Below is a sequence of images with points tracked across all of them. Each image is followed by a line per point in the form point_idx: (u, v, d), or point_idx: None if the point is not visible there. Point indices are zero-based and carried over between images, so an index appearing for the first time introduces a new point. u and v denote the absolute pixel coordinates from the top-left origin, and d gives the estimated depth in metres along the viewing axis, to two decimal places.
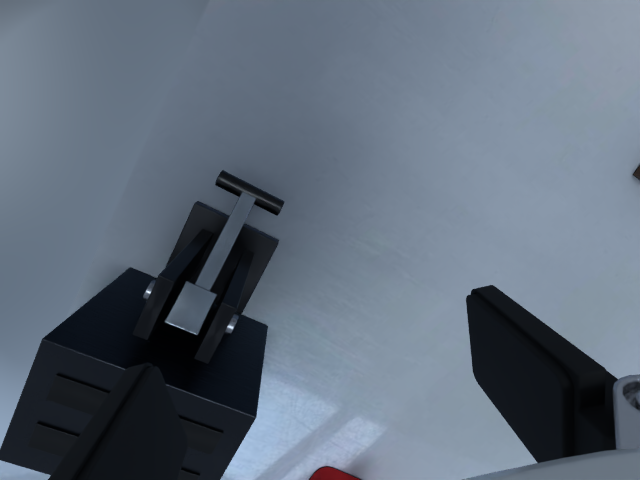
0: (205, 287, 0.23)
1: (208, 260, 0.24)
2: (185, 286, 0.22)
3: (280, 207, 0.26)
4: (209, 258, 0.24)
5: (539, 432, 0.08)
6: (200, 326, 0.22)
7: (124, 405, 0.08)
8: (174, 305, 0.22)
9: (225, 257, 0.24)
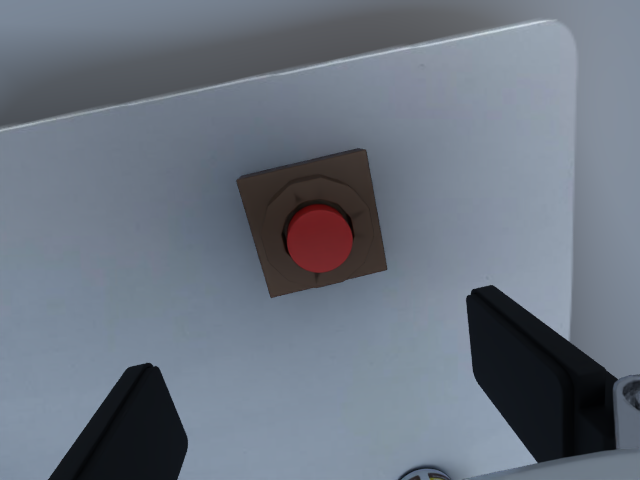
0: None
1: None
2: None
3: None
4: None
5: (539, 432, 0.08)
6: None
7: (124, 405, 0.08)
8: None
9: None
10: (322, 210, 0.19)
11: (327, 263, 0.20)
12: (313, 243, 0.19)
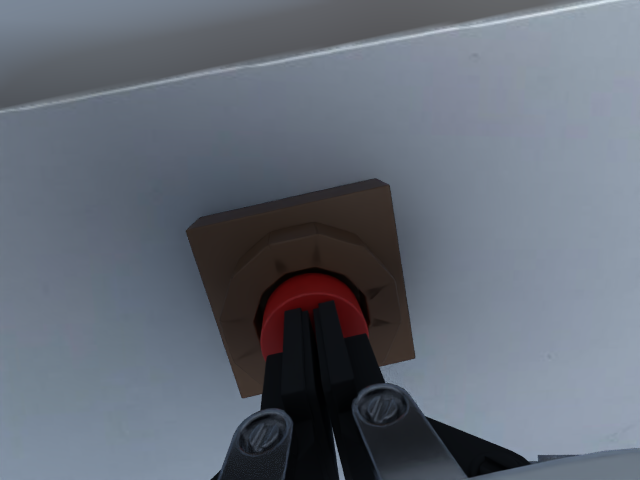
0: None
1: None
2: None
3: None
4: None
5: None
6: None
7: (304, 335, 0.10)
8: None
9: None
10: (319, 293, 0.11)
11: None
12: None
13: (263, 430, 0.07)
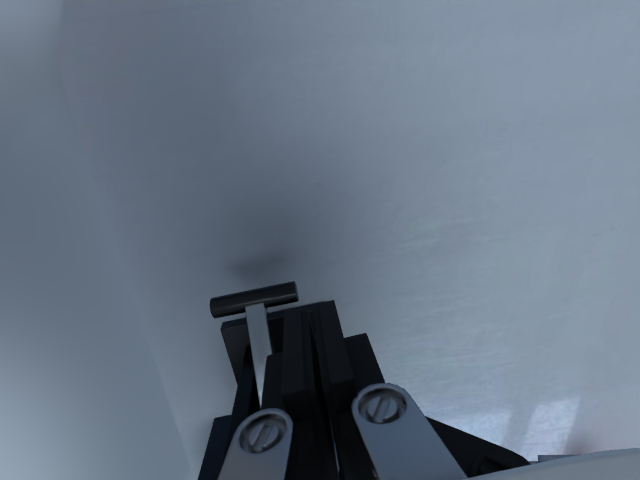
0: None
1: None
2: None
3: (294, 292, 0.20)
4: None
5: None
6: None
7: (304, 335, 0.10)
8: None
9: None
10: None
11: None
12: None
13: (263, 430, 0.07)
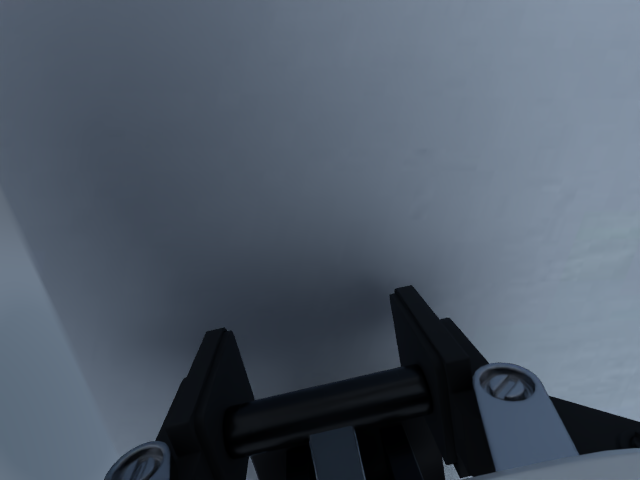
0: None
1: None
2: None
3: (427, 399, 0.08)
4: None
5: (433, 415, 0.09)
6: None
7: (215, 359, 0.09)
8: None
9: None
10: None
11: None
12: None
13: (137, 467, 0.07)
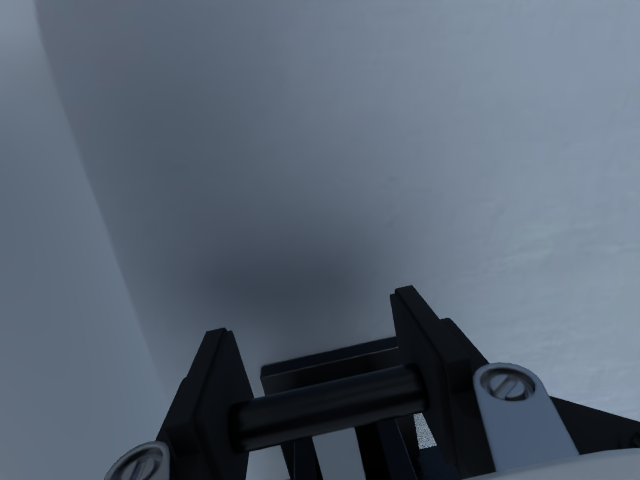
0: None
1: None
2: None
3: (425, 407, 0.09)
4: None
5: (433, 415, 0.09)
6: None
7: (215, 359, 0.09)
8: None
9: None
10: None
11: None
12: None
13: (136, 467, 0.07)
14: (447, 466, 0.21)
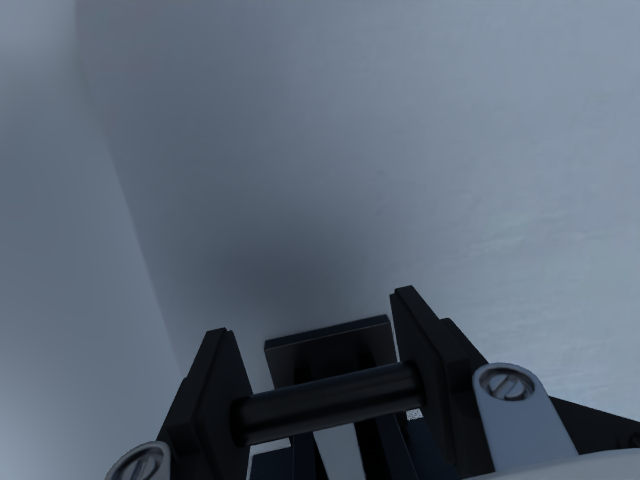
0: None
1: None
2: None
3: (423, 405, 0.09)
4: None
5: (433, 415, 0.09)
6: None
7: (215, 359, 0.09)
8: None
9: None
10: None
11: None
12: None
13: (137, 467, 0.07)
14: None
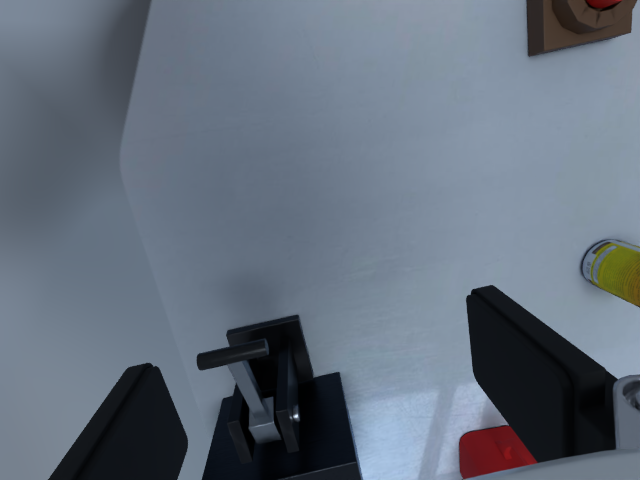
0: (262, 416, 0.29)
1: (249, 406, 0.28)
2: (251, 430, 0.29)
3: (265, 354, 0.25)
4: (249, 405, 0.28)
5: (539, 432, 0.08)
6: (279, 436, 0.30)
7: (124, 405, 0.08)
8: (254, 438, 0.30)
9: (258, 399, 0.28)
10: None
11: None
12: None
13: None
14: (327, 383, 0.40)
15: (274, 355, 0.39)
